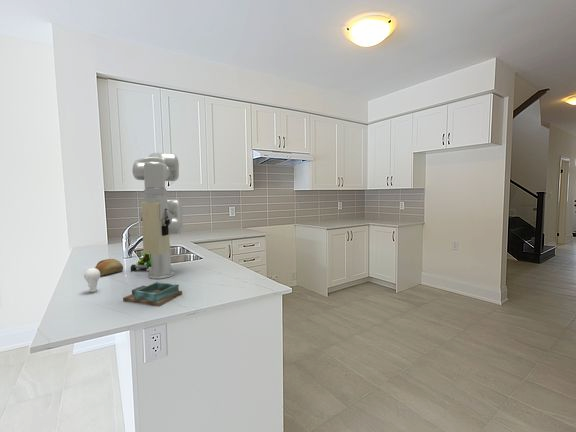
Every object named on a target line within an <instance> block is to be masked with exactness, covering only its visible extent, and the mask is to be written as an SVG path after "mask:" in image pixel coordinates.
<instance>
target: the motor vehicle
mask: <svg viewBox="0 0 576 432" xmlns="http://www.w3.org/2000/svg"><path fill="white" fill-rule="evenodd" d="M148 267H151V254H148V253H144V252H143V253H142V254H141V255H140V257H139V259H138V261H137V262H136V263H135V264H131V266H130V271H131V272H132V271H134V272H136V271H137V269H148Z"/></svg>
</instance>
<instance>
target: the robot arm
mask: <svg viewBox="0 0 576 432" xmlns="http://www.w3.org/2000/svg"><path fill="white" fill-rule="evenodd" d="M179 167H180V163H179V159H178V157H177V155H176V154H174V153H167V152H166V153H164V152H153V153H150V155H148V157H145V158H139V159H136V160H134V163H133V165H132V176H133V178H134V179H136V180H139V181H143V182H144V189H143V193H144V195H143V197H142V202H151V203H159V220H162V224H163V226H162V236H165V235H168V234H169V236H170V235H181V234H182V233H183V231H184V215H183V214H184V212H183V204H182V201H181V199H180V198H178V197H168V190H167V188H166V184H165V182H176V181H177V180H178V179H179V175H180V174H179V173H180V172H179V170H180V168H179ZM168 206H169V209H168ZM166 209H167V210H166ZM165 214H166V215H167V217H168V218H167V217H166V218H164V215H165ZM138 216H139V218H140V221H141V222H142V212H140V213H139V214H138ZM164 220H166V222H165V221H164ZM168 225H169V228H168ZM169 246H170V247H171V243H170V242H169ZM146 272H149V274H148V278H149V279H152V280H163V279H167V278H170V277H173V276H175V272H174V271H173V270H172V265H171V250H170V251H169V252H166V253H162V254H159V255H158V254H151V267H148V268H146Z"/></svg>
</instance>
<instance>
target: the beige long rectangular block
mask: <svg viewBox="0 0 576 432" xmlns="http://www.w3.org/2000/svg"><path fill="white" fill-rule="evenodd" d="M168 209H169V206H168ZM166 210H167V209H166ZM141 213H142V221H141V222H142V246H143V249H142V250H143V253H144V254H145V253H146V254H158V255H159V254H162V253H166V252H169V251H170V252H171V245H170V246H169V243H170V235H169V234H168V235H165V236H162V226H163V224H162V220H159V203H151V202H143V201H142V202H141ZM166 217H167V215H166V214H165V215H164V218H166ZM167 218H168V217H167ZM164 221H165V222H166V220H164ZM168 228H169V225H168Z"/></svg>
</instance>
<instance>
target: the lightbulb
mask: <svg viewBox="0 0 576 432" xmlns="http://www.w3.org/2000/svg"><path fill="white" fill-rule="evenodd" d="M100 277H101V276H100V271H99V270H98V269H96V268H95V267H90V268H88V269H86V270H85V271H84V273H83V279H85V281H86V282H87V285H88V287H89V292H91V293H95V292H96V291H97V288H98V287H97V286H98V281H99V279H100Z"/></svg>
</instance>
